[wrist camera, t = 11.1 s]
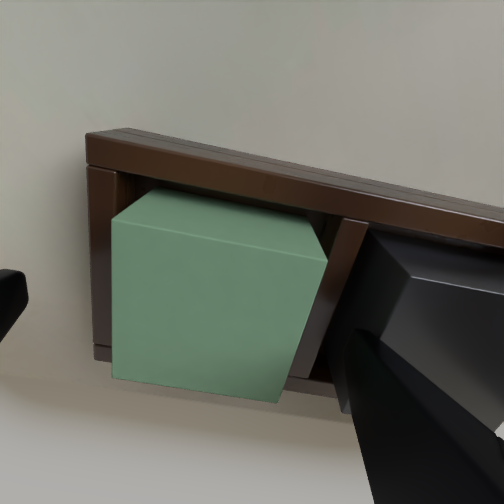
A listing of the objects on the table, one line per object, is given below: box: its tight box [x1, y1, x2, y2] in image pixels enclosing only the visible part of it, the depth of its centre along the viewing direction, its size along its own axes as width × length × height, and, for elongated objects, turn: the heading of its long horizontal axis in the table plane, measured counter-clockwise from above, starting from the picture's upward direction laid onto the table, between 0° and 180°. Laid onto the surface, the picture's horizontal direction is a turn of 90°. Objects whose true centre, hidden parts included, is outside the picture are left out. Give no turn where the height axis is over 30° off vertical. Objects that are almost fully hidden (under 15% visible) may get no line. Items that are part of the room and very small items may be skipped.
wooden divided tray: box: [85, 128, 504, 432], centre depth 10 cm, size 15×8×4 cm, turn 79°
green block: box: [111, 187, 328, 403], centre depth 9 cm, size 5×5×3 cm
